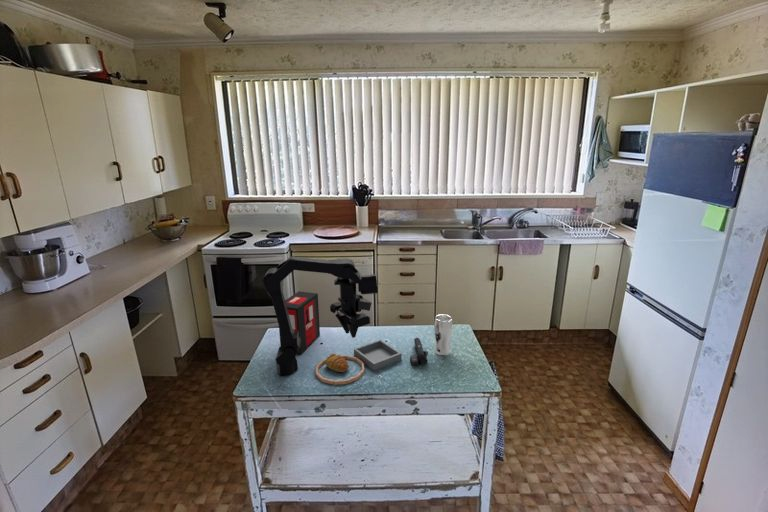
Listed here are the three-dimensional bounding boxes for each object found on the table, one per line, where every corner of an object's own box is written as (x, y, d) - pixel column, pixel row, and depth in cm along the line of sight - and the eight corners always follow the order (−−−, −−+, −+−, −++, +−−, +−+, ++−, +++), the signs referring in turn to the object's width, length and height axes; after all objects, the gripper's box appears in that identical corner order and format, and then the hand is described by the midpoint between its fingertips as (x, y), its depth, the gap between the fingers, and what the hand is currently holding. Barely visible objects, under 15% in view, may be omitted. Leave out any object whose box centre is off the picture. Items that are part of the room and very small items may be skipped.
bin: (374, 371, 142) (374, 364, 141) (354, 355, 153) (353, 348, 152) (401, 360, 149) (401, 353, 148) (380, 346, 160) (380, 339, 159)
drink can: (454, 355, 153) (456, 319, 149) (438, 358, 150) (440, 322, 146) (445, 347, 159) (446, 313, 155) (430, 350, 157) (431, 315, 153)
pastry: (353, 368, 143) (353, 359, 143) (339, 375, 139) (339, 366, 138) (336, 359, 150) (336, 350, 149) (323, 366, 145) (322, 356, 144)
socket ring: (330, 390, 131) (330, 387, 131) (308, 367, 145) (307, 364, 144) (373, 373, 141) (373, 370, 141) (348, 353, 154) (348, 350, 154)
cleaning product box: (301, 334, 171) (298, 291, 166) (320, 336, 168) (317, 293, 163) (281, 352, 156) (277, 305, 150) (300, 355, 153) (297, 308, 148)
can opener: (429, 368, 144) (429, 354, 143) (410, 368, 144) (410, 354, 143) (426, 345, 161) (426, 332, 160) (409, 344, 162) (409, 332, 160)
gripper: (382, 297, 134) (383, 338, 138) (354, 283, 149) (356, 320, 153) (354, 305, 128) (356, 347, 132) (328, 289, 143) (330, 328, 147)
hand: (350, 335), depth 141 cm, fingers open, 4 cm apart
